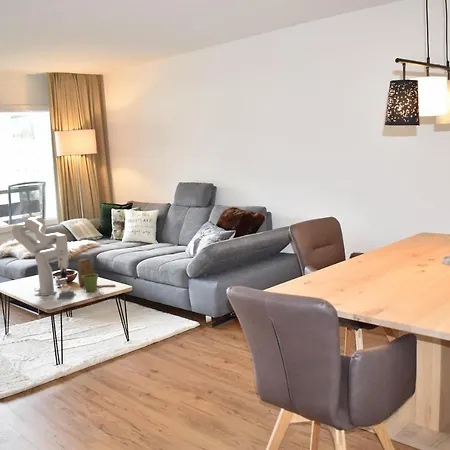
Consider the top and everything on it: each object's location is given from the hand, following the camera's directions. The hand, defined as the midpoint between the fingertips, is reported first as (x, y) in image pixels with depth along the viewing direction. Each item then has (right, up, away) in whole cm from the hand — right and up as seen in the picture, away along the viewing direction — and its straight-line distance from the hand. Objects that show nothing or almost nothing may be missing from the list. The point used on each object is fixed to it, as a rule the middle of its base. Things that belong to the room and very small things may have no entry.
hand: (64, 277), depth 380 cm
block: (+8, -9, +33) cm, 35 cm away
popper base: (+1, -14, +2) cm, 14 cm away
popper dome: (+1, -12, +1) cm, 13 cm away
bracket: (+23, -9, +25) cm, 35 cm away
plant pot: (+16, -11, +15) cm, 24 cm away
